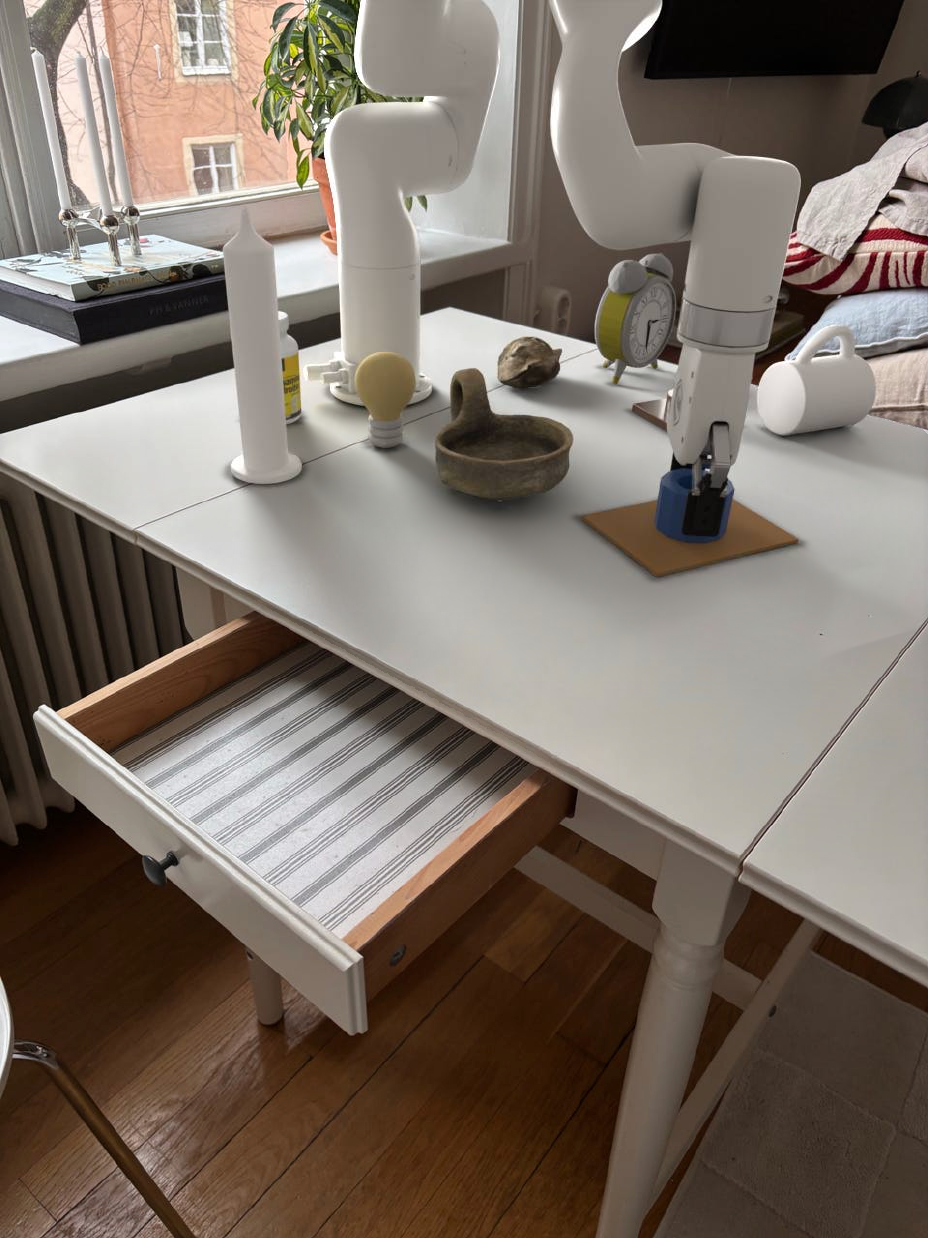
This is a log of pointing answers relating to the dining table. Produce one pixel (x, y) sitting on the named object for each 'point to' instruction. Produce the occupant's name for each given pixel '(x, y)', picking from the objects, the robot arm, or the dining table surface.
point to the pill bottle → (289, 371)
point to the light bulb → (385, 395)
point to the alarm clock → (636, 313)
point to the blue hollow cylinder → (683, 506)
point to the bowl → (498, 446)
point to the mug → (817, 387)
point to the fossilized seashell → (528, 363)
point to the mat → (668, 555)
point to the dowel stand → (655, 410)
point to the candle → (257, 358)
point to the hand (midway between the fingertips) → (691, 510)
